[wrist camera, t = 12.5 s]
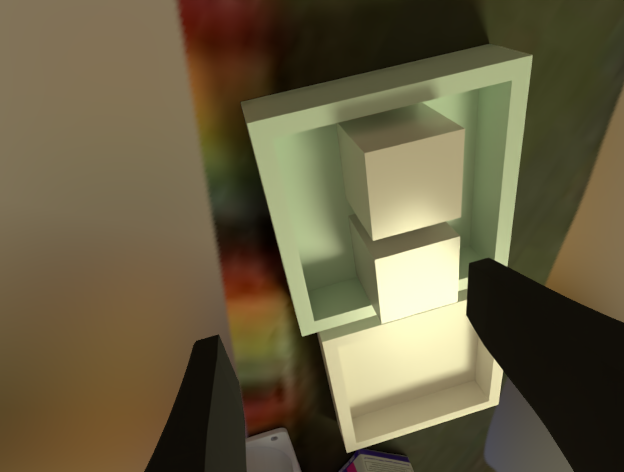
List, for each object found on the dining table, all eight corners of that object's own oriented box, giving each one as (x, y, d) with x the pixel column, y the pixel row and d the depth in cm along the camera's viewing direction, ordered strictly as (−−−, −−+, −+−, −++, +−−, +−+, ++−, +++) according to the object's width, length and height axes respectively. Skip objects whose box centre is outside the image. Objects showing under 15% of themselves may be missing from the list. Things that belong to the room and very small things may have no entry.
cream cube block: (356, 275, 24) (381, 324, 21) (347, 215, 22) (374, 260, 19) (422, 256, 24) (457, 301, 21) (421, 195, 22) (460, 236, 19)
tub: (291, 299, 25) (302, 336, 22) (240, 101, 18) (246, 123, 16) (476, 247, 26) (506, 277, 23) (489, 43, 19) (532, 55, 17)
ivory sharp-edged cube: (345, 198, 21) (372, 240, 18) (335, 120, 19) (364, 153, 16) (420, 178, 22) (460, 217, 18) (419, 100, 19) (464, 128, 16)
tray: (337, 421, 32) (346, 453, 30) (312, 312, 26) (322, 342, 24) (479, 377, 33) (498, 404, 31) (490, 261, 27) (514, 285, 25)
